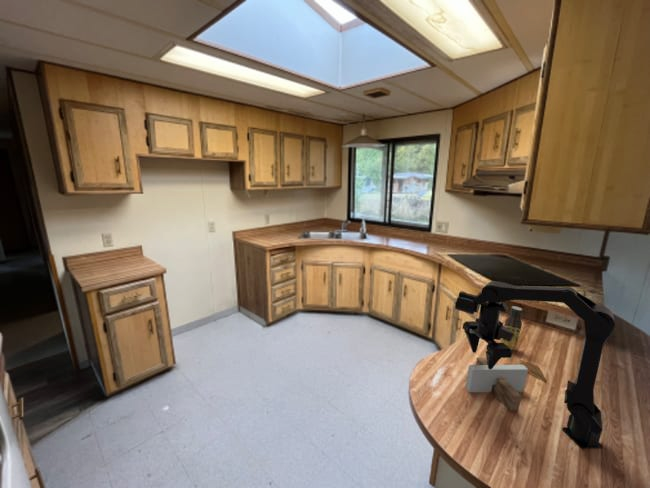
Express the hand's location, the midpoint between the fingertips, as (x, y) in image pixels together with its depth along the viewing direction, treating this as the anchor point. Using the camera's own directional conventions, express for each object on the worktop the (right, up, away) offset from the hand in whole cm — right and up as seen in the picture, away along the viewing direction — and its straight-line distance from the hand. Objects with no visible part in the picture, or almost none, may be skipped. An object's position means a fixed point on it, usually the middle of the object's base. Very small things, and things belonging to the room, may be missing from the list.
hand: (481, 360), depth 97 cm
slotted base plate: (+6, -12, +3) cm, 14 cm away
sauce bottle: (+28, -7, +29) cm, 41 cm away
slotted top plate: (+6, -12, +3) cm, 14 cm away
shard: (+29, -11, +14) cm, 34 cm away
